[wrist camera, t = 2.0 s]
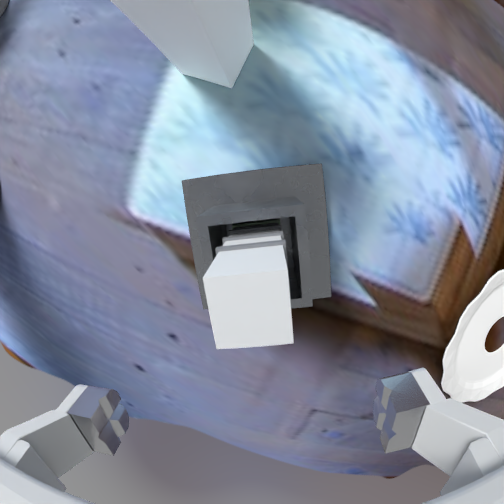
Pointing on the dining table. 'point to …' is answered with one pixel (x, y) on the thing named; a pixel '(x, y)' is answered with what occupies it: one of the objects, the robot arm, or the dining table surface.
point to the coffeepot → (3, 6)
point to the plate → (475, 347)
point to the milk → (197, 34)
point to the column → (250, 287)
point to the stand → (265, 208)
